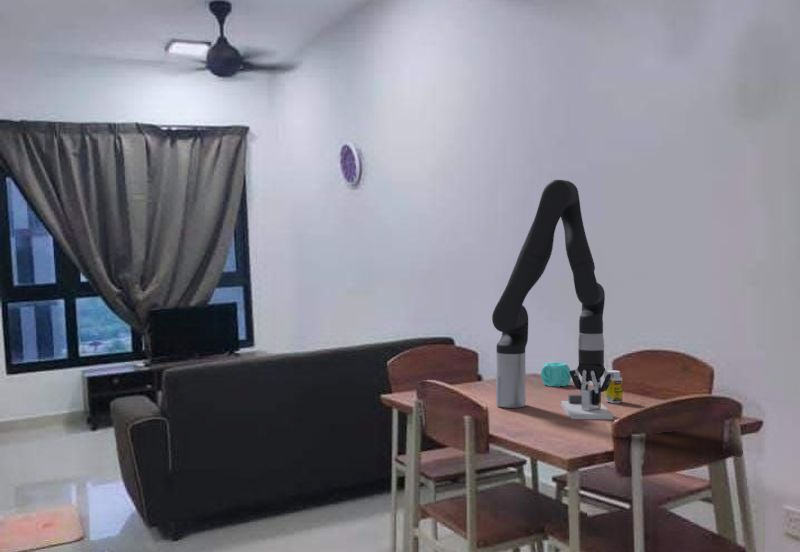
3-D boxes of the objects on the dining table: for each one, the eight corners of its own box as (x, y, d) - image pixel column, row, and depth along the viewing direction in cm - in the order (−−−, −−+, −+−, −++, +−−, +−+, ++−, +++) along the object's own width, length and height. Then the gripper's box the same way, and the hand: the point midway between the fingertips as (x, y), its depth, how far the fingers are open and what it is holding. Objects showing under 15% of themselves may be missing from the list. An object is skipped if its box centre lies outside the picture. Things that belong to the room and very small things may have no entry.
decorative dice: (571, 385, 277) (571, 363, 277) (558, 388, 272) (557, 366, 272) (554, 382, 283) (554, 361, 283) (540, 385, 278) (540, 363, 278)
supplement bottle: (614, 404, 241) (614, 373, 241) (601, 401, 246) (601, 370, 245) (626, 402, 244) (626, 371, 244) (612, 399, 249) (612, 369, 248)
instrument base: (571, 419, 220) (571, 403, 220) (561, 405, 240) (561, 391, 240) (613, 419, 219) (613, 403, 219) (598, 405, 239) (598, 391, 239)
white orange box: (588, 411, 223) (588, 390, 223) (581, 409, 225) (581, 389, 225) (600, 407, 228) (600, 388, 228) (593, 406, 230) (593, 387, 230)
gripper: (564, 347, 227) (564, 403, 228) (608, 350, 219) (608, 409, 219) (574, 345, 233) (575, 399, 234) (618, 348, 225) (618, 405, 225)
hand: (591, 404), depth 227 cm, fingers closed on white orange box, 3 cm apart
